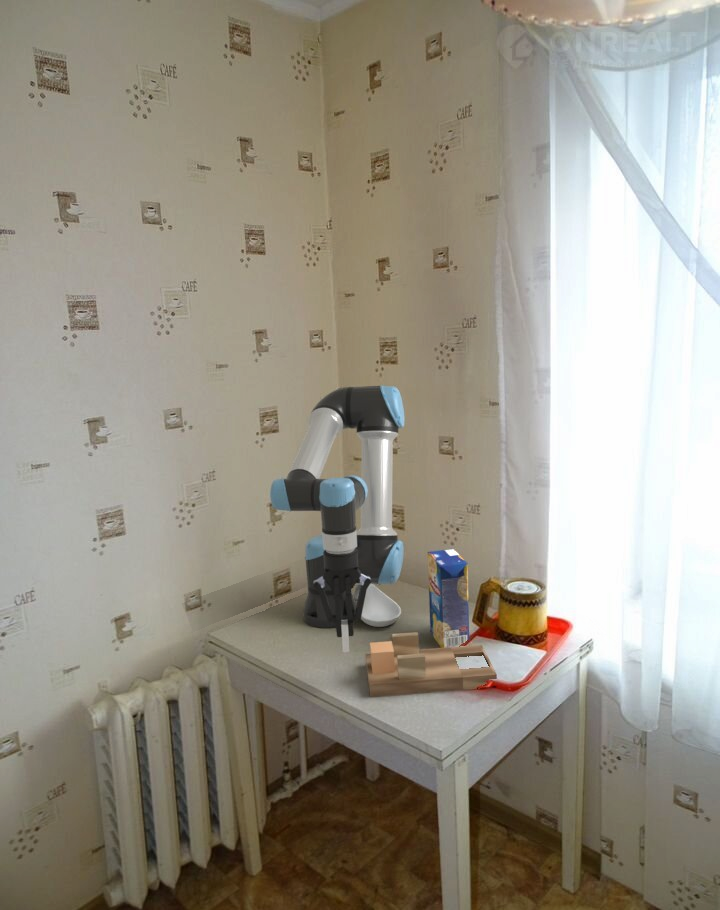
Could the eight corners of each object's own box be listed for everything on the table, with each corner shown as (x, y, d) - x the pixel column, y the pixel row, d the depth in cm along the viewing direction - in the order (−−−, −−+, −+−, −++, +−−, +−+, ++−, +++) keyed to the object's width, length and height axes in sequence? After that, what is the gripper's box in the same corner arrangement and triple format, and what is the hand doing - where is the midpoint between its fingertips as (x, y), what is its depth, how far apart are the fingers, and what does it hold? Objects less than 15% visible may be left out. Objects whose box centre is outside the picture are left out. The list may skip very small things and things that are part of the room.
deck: (366, 665, 161) (364, 634, 159) (481, 656, 162) (481, 625, 161) (370, 697, 147) (368, 663, 146) (496, 686, 148) (496, 653, 147)
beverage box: (455, 628, 178) (453, 548, 173) (469, 647, 167) (467, 563, 163) (430, 631, 176) (427, 551, 172) (443, 651, 166) (440, 566, 162)
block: (371, 662, 156) (369, 642, 155) (392, 661, 156) (391, 641, 155) (372, 673, 151) (371, 653, 150) (394, 672, 151) (393, 651, 150)
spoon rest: (408, 627, 180) (406, 602, 178) (366, 636, 176) (364, 610, 175) (378, 595, 202) (377, 573, 201) (341, 602, 199) (339, 579, 197)
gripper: (310, 556, 144) (316, 659, 148) (371, 552, 144) (376, 655, 148) (310, 545, 151) (317, 643, 155) (368, 541, 152) (373, 639, 156)
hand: (345, 649), depth 152 cm, fingers closed
